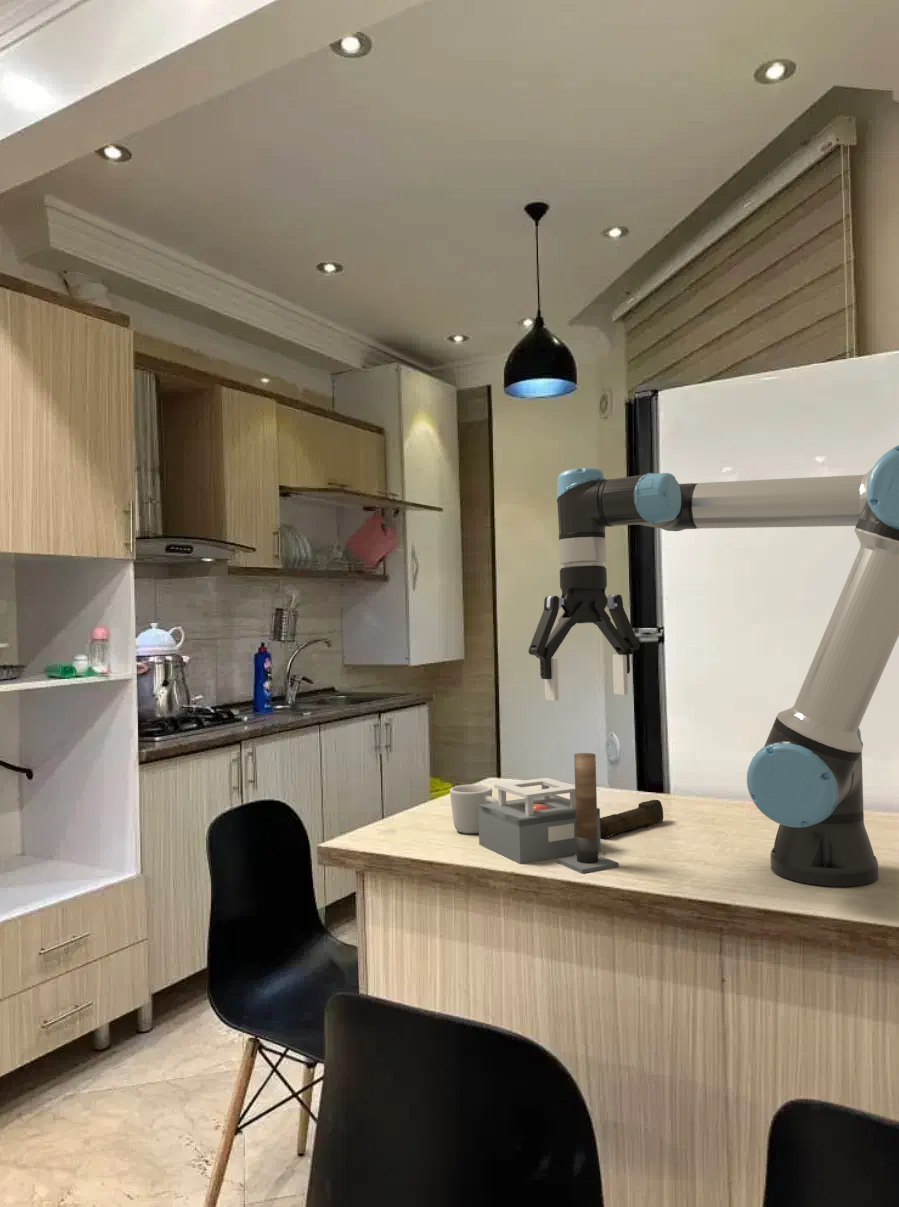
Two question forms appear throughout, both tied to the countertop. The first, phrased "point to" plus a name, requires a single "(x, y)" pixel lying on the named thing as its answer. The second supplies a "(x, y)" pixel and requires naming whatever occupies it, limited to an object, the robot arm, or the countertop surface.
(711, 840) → the countertop surface
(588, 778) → the brown wooden rod
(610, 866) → the pad
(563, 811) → the framed red button box
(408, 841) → the countertop surface
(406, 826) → the countertop surface
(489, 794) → the cup
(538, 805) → the plunger
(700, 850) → the countertop surface
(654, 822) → the hand tool
